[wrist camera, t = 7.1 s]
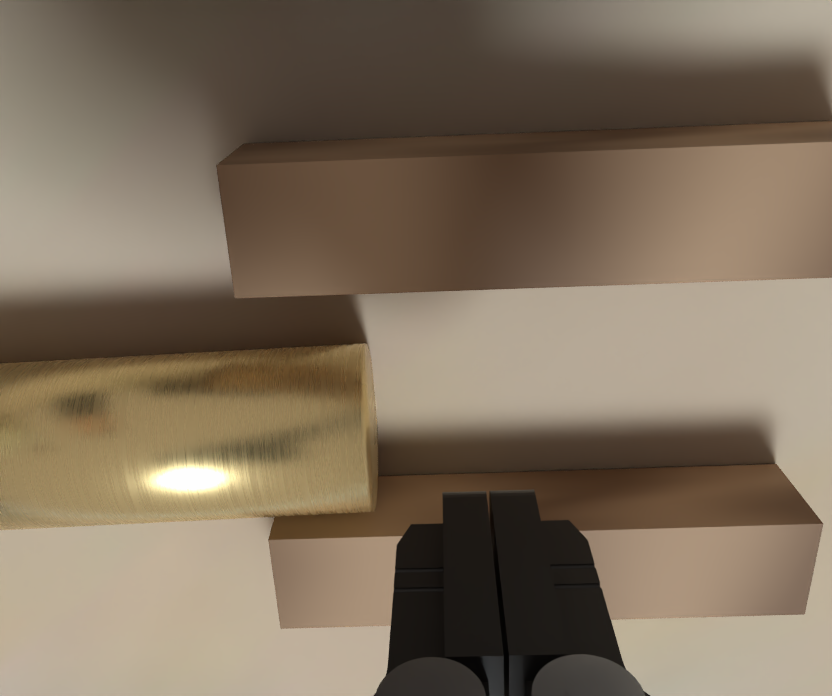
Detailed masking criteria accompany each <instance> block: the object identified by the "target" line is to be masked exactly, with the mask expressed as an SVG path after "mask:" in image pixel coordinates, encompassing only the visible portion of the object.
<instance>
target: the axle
mask: <svg viewBox="0 0 832 696" xmlns="http://www.w3.org/2000/svg"><path fill="white" fill-rule="evenodd" d="M377 492H378V433H377V417H376V406H375V395H374V384H373V373H372V362H371V357H370V352H369V348H368V345H367V344H366V343H364V344H346V345H328V346H310V347H291V348H273V349H255V350H237V351H219V352H200V353H182V354H164V355H146V356H128V357H110V358H91V359H73V360H55V361H37V362H19V363H0V530H13V529H33V528H54V527H74V526H94V525H115V524H135V523H155V522H176V521H196V520H216V519H236V518H257V517H277V516H297V515H318V514H338V513H358V512H374V511H375V508H376V503H377Z"/></svg>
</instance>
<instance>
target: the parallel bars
mask: <svg viewBox="0 0 832 696" xmlns="http://www.w3.org/2000/svg"><path fill="white" fill-rule="evenodd" d="M216 166H217V173H218V181H219V188H220V195H221V202H222V209H223V217H224V224H225V231H226V238H227V245H228V253H229V260H230V267H231V274H232V281H233V289H234V296H235V298H260V297H289V296H317V295H346V294H375V293H403V292H432V291H460V290H489V289H518V288H546V287H575V286H603V285H632V284H661V283H689V282H718V281H746V280H775V279H804V278H832V121H817V122H791V123H765V124H739V125H713V126H687V127H661V128H636V129H610V130H584V131H558V132H532V133H506V134H480V135H454V136H428V137H402V138H376V139H350V140H324V141H299V142H273V143H247V144H243V145H242V146H240V147H239V148H238V149H237V150H235V151H234V152H233V153H231V154H230V155H229V156H228V157H226V158H225V159H224V160H222V161H221V162H220V163H219V164H217V165H216ZM499 490H534V491H535V494H536V499H537V504H538V509H539V514H540V518H541V521H546V520H569V521H570V522H571V523H572V524H573V525H574V526H575V527H576V528H577V529H578V530H579V531H580V532H581V533H582V534H583V535H584V536H585V537H586V539H587V540H588V542H589V546H590V549H591V553H592V556H593V560H594V563H595V568H596V570H597V574H598V577H599V581H600V587H601V588H602V591H603V595H604V598H605V602H606V605H607V609H608V612H609V616H610V619H611V620H614V619H651V618H688V617H724V616H761V615H798V614H805V610H806V605H807V600H808V595H809V590H810V585H811V581H812V576H813V571H814V566H815V561H816V556H817V551H818V547H819V542H820V537H821V532H822V527H823V523H822V522H821V520H820V519H819V518H818V517H817V515H816V514H815V513H814V511H813V510H812V509H811V508H810V506H809V505H808V504H807V502H806V501H805V500H804V499H803V497H802V496H801V495H800V494H799V492H798V491H797V490H796V488H795V487H794V486H793V485H792V483H791V482H790V481H789V480H788V478H787V477H786V476H785V474H784V473H783V472H782V471H781V469H780V468H779V467H778V465H777V464H763V465H730V466H698V467H665V468H633V469H600V470H568V471H535V472H503V473H470V474H437V475H405V476H378V492H377V503H376V508H375V511H374V512H358V513H338V514H318V515H297V516H277V517H275V518H274V522H273V525H272V529H271V533H270V536H269V540H268V541H269V548H270V555H271V563H272V570H273V577H274V584H275V591H276V599H277V606H278V613H279V620H280V627H281V629H284V628H321V627H357V626H391V617H392V603H393V593H394V575H395V561H396V547H397V544H398V542H399V541H400V539H401V538H402V536H403V535H404V534H405V532H406V531H407V529H408V528H409V526H410V525H411V524H437V523H443V499H442V492H469V491H486V493H487V502H488V512H489V493H490V491H499ZM489 521H490V520H489Z"/></svg>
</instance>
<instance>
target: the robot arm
mask: <svg viewBox="0 0 832 696" xmlns="http://www.w3.org/2000/svg"><path fill="white" fill-rule="evenodd" d="M442 499H443V523H437V524H411V525H410V526H409V528H408V529H407V531H406V532H405V534H404V535H403V536H402V538H401V539H400V541H399V542H398V544H397V547H396V561H395V575H394V593H393V603H392V617H391V631H390V644H389V658H388V668H387V674H386V676H385V678H384V679H383V680H382V681H381V683H380V685H379V687H378V689H377V692H376V693H375V695H374V696H650V695H648V694H647V693H646V692H644V691H643V689H642V687H641V685H640V684H639V683H638V681H637V680H636V679H635V677H634V676H633V675H632V674H631V673H629V672H628V671H627V670H626V669H625V666H624V664H623V661H622V658H621V654H620V651H619V647H618V644H617V640H616V637H615V633H614V630H613V626H612V623H611V619H610V616H609V612H608V609H607V605H606V602H605V598H604V595H603V591H602V588H601V587H600V581H599V577H598V574H597V570H596V568H595V563H594V560H593V556H592V553H591V549H590V546H589V542H588V540H587V539H586V537H585V536H584V535H583V534H582V533H581V532H580V531H579V530H578V529H577V528H576V527H575V526H574V525H573V524H572V523H571V522H570V521H569V520H546V521H541V518H540V514H539V509H538V504H537V499H536V494H535V491H534V490H499V491H490V493H489V512H488V502H487V493H486V491H469V492H442ZM489 520H490V521H489Z"/></svg>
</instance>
